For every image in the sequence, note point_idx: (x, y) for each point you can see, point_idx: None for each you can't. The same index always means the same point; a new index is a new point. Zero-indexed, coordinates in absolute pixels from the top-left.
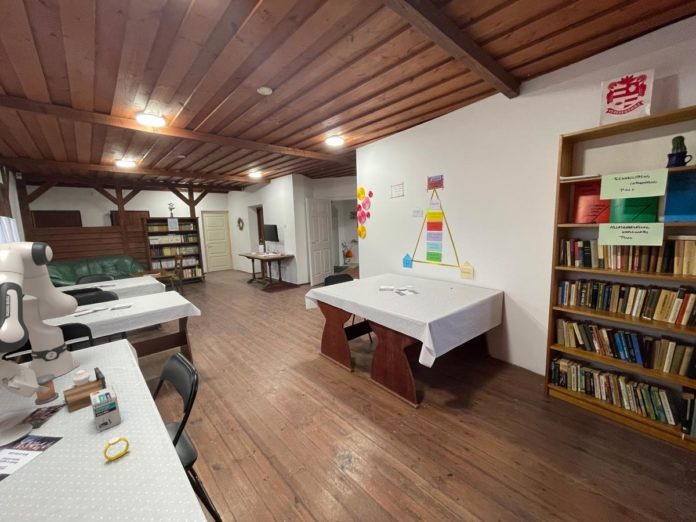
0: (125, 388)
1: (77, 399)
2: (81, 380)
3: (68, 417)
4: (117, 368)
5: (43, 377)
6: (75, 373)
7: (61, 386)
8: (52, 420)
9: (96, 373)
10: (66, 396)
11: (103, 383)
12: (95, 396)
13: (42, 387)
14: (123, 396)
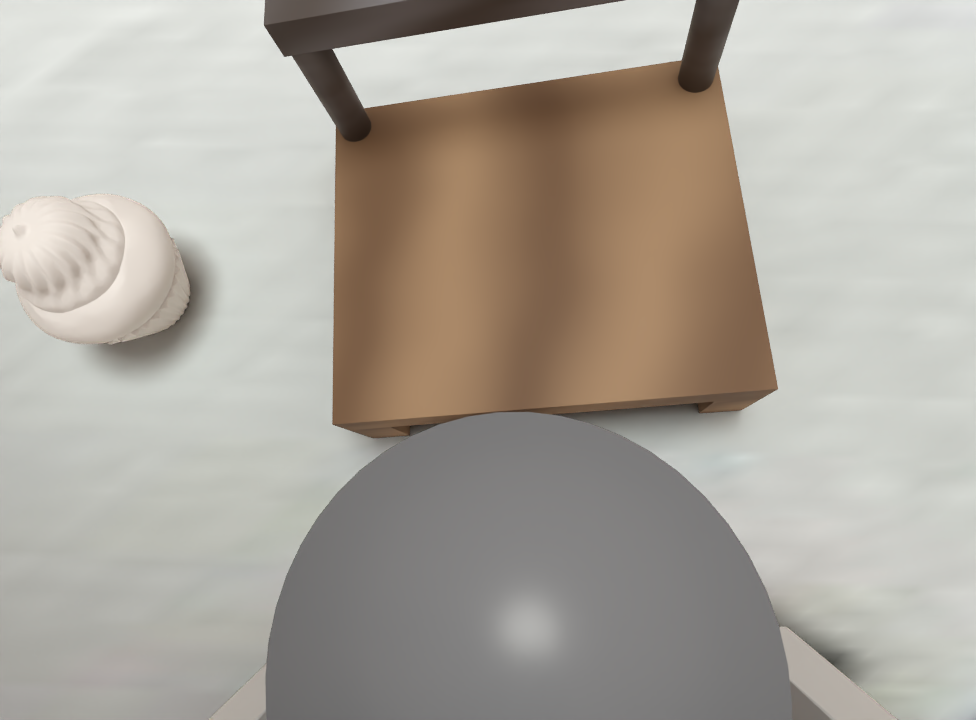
0: (609, 15)
1: (744, 304)
2: (170, 271)
3: (838, 425)
4: (88, 57)
5: (437, 655)
6: (18, 283)
7: (11, 452)
8: (778, 549)
9: (418, 32)
10: (535, 398)
11: (733, 11)
12: None
13: (833, 679)
14: (779, 31)
